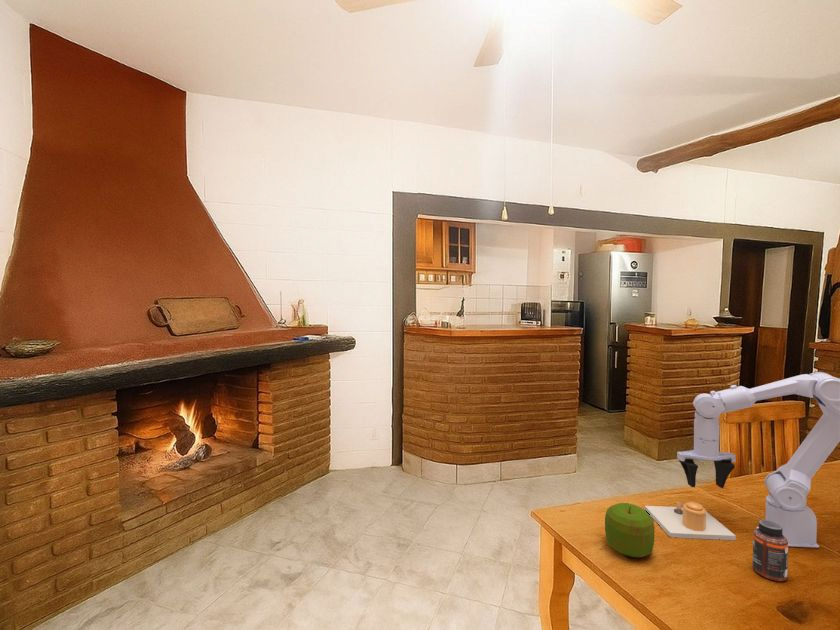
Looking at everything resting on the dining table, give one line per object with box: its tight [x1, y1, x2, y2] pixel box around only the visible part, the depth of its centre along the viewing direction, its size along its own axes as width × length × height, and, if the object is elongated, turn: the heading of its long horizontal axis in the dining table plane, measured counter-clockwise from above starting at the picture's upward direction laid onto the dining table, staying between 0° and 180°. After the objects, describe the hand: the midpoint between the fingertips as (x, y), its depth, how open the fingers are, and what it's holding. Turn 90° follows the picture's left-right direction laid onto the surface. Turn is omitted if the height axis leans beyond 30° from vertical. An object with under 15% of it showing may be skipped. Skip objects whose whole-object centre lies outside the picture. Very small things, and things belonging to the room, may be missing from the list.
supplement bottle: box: [752, 519, 789, 582], centre depth 90 cm, size 6×6×11 cm
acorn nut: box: [682, 500, 707, 531], centre depth 107 cm, size 5×5×6 cm
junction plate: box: [644, 500, 737, 541], centre depth 111 cm, size 16×14×4 cm
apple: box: [604, 502, 655, 559], centre depth 99 cm, size 11×11×11 cm
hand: (705, 486), depth 112 cm, fingers open, 7 cm apart
